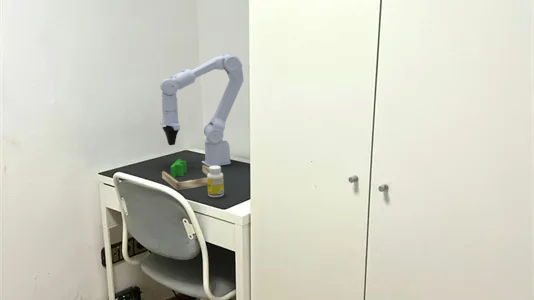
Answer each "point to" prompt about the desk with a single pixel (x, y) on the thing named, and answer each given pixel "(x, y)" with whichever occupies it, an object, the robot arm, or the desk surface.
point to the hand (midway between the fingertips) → (171, 144)
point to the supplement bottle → (215, 182)
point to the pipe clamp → (178, 168)
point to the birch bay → (186, 184)
